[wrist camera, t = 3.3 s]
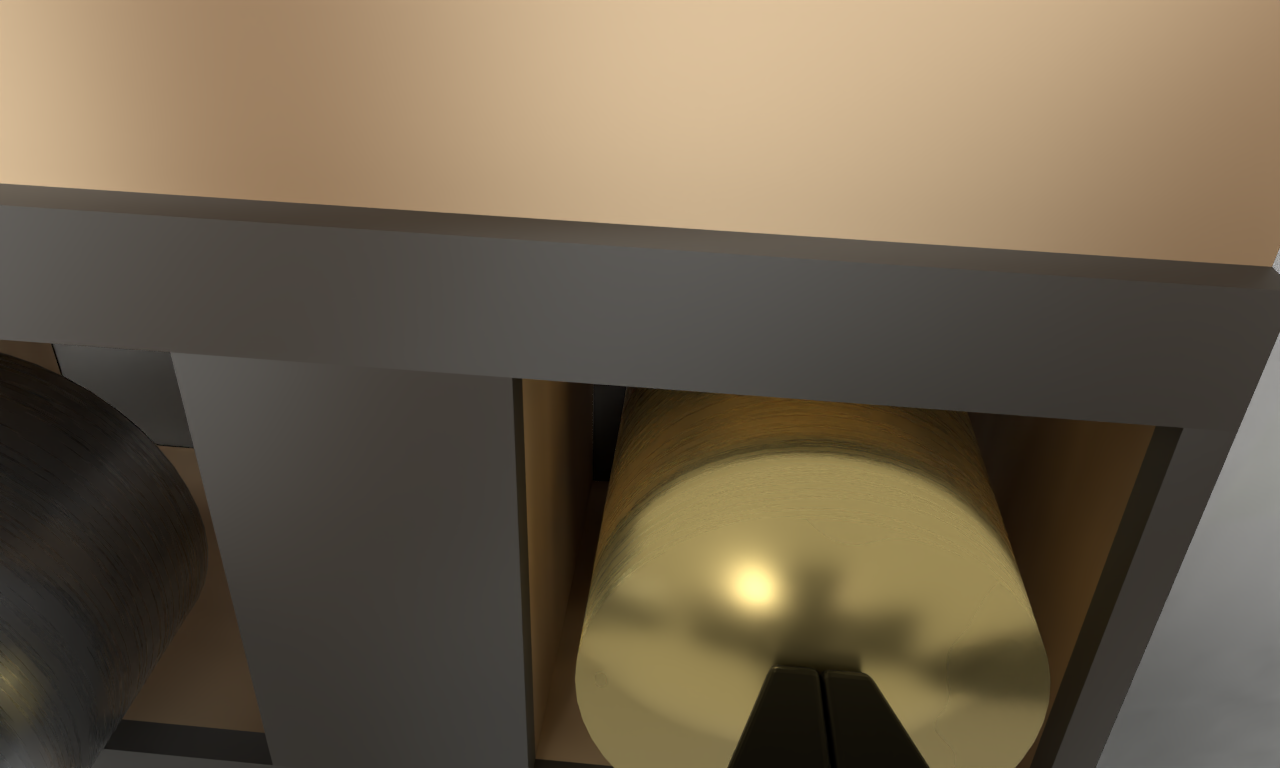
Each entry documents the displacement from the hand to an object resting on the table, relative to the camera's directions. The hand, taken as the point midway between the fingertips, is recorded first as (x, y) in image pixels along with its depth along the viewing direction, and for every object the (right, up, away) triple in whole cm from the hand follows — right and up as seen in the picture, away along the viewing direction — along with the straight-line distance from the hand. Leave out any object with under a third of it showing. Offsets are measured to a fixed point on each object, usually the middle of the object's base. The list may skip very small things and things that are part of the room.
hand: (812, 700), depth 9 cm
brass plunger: (0, +3, +5) cm, 5 cm away
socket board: (-3, +4, +5) cm, 7 cm away
